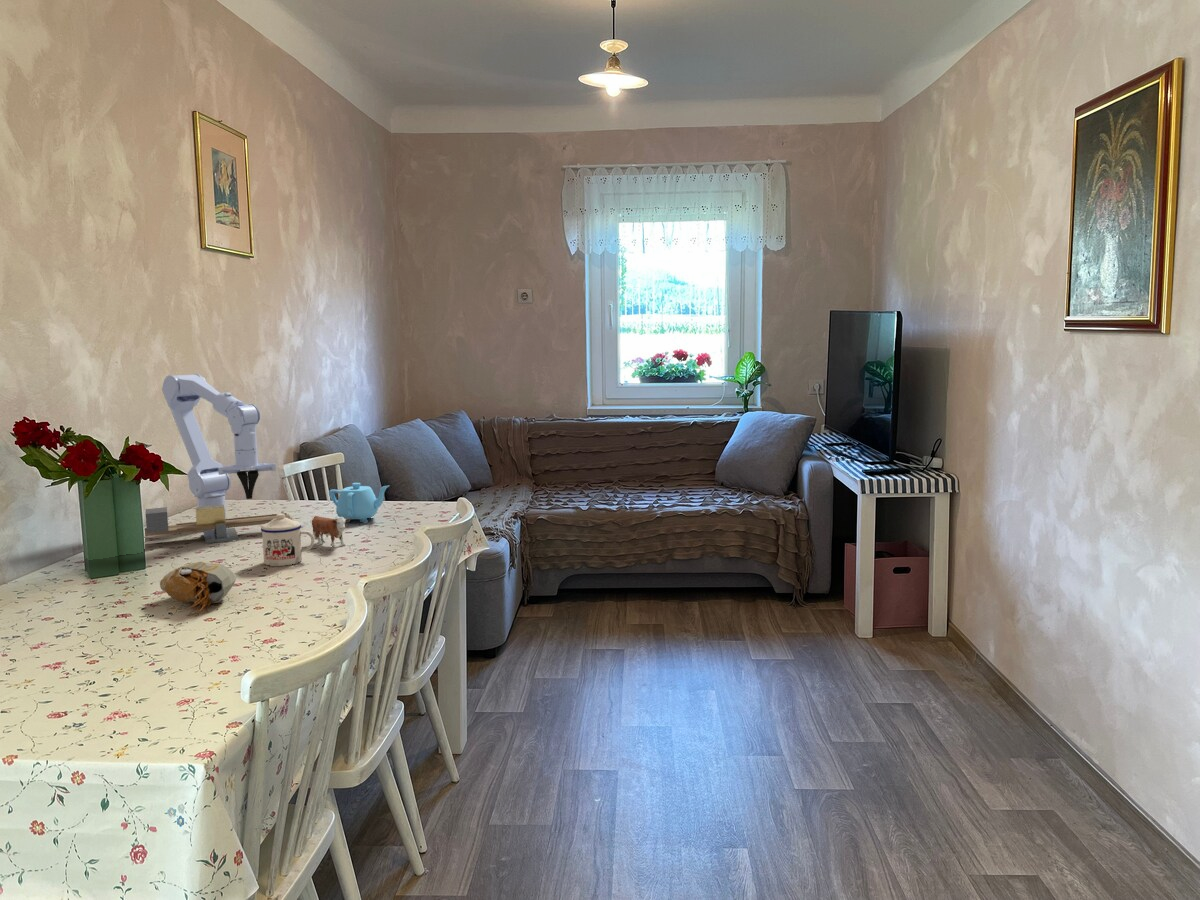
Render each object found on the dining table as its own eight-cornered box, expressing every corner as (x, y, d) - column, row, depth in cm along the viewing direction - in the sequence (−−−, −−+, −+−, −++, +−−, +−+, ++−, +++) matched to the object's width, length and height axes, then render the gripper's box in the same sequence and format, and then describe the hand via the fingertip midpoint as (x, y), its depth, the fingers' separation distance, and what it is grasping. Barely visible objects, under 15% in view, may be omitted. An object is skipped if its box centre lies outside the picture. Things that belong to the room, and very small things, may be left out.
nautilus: (228, 620, 175) (144, 631, 171) (244, 583, 195) (170, 592, 192) (222, 581, 173) (138, 591, 170) (239, 548, 193) (164, 557, 190)
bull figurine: (341, 550, 226) (339, 519, 225) (309, 543, 234) (307, 512, 233) (355, 547, 230) (353, 516, 229) (323, 540, 238) (321, 510, 237)
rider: (196, 523, 241) (195, 507, 241) (224, 521, 244) (223, 504, 244) (197, 526, 238) (195, 510, 237) (225, 523, 241) (224, 507, 240)
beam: (145, 530, 238) (143, 509, 237) (288, 516, 253) (287, 496, 253) (145, 536, 231) (143, 514, 230) (292, 521, 247) (290, 500, 246)
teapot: (329, 521, 264) (325, 483, 262) (374, 512, 273) (371, 476, 271) (346, 528, 254) (343, 490, 252) (393, 519, 263) (390, 481, 261)
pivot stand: (203, 534, 246) (202, 518, 246) (234, 531, 250) (233, 515, 249) (205, 543, 235) (204, 526, 235) (238, 540, 239) (237, 523, 238)
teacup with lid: (259, 568, 211) (256, 519, 209) (266, 558, 220) (263, 511, 218) (313, 565, 213) (310, 516, 211) (317, 555, 222) (315, 509, 220)
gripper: (218, 452, 239) (221, 503, 241) (275, 449, 245) (278, 498, 247) (216, 449, 245) (219, 499, 247) (272, 446, 252) (275, 494, 253)
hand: (249, 498), depth 247 cm, fingers closed
